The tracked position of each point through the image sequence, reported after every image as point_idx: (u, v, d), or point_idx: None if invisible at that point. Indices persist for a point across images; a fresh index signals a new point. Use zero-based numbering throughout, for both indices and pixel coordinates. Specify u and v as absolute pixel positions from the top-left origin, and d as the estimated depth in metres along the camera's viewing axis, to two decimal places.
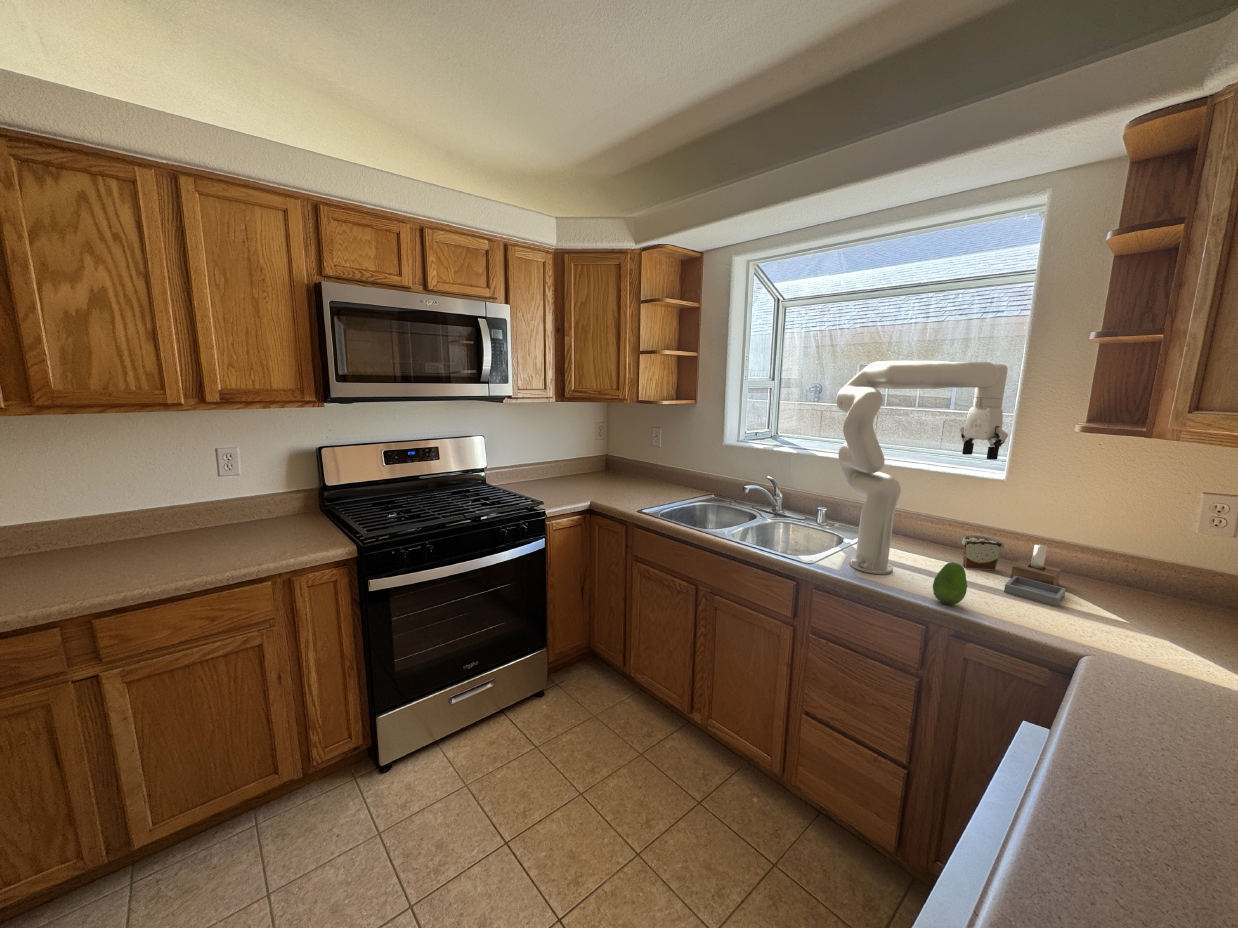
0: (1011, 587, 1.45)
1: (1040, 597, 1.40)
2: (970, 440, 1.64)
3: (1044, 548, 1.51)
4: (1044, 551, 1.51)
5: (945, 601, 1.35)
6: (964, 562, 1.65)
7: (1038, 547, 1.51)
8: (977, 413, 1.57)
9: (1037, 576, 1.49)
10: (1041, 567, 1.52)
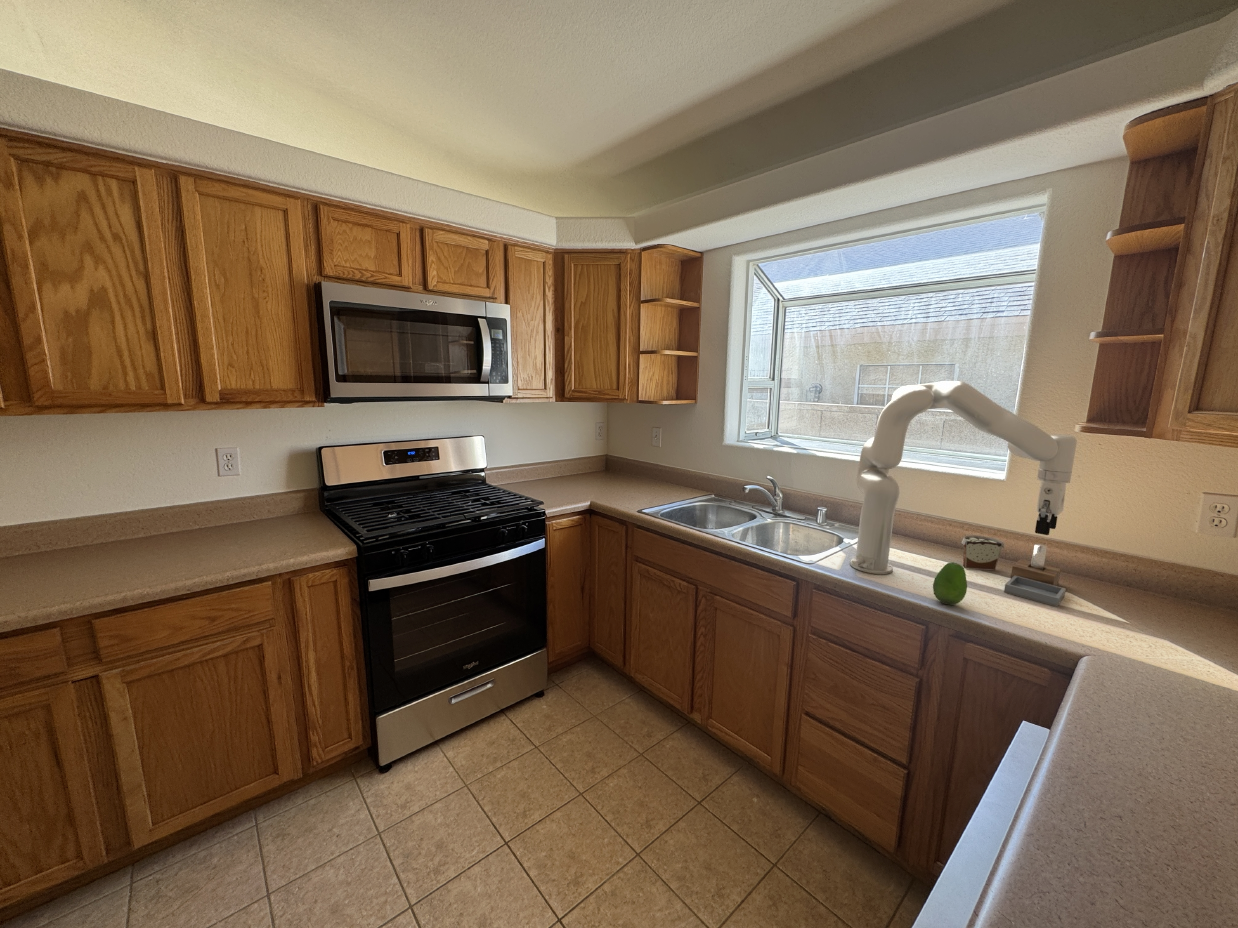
0: (1011, 587, 1.45)
1: (1040, 597, 1.40)
2: None
3: (1044, 548, 1.51)
4: (1044, 551, 1.51)
5: (945, 601, 1.35)
6: (964, 562, 1.65)
7: (1038, 547, 1.51)
8: (1064, 487, 1.47)
9: (1037, 576, 1.49)
10: (1041, 567, 1.52)
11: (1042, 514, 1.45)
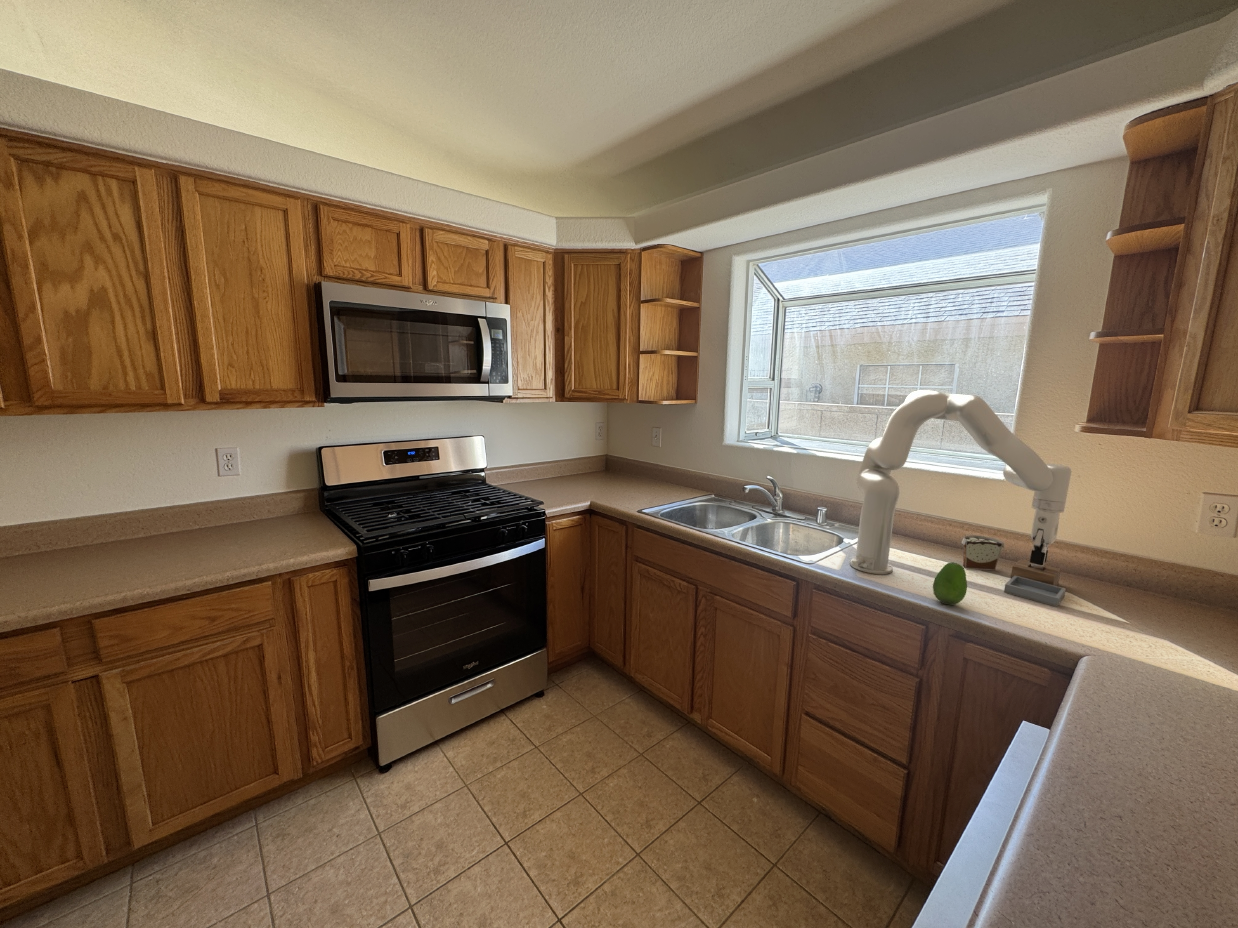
0: (1011, 587, 1.45)
1: (1040, 597, 1.40)
2: None
3: None
4: (1044, 551, 1.51)
5: (945, 601, 1.35)
6: (964, 562, 1.65)
7: None
8: (1058, 516, 1.48)
9: (1037, 576, 1.49)
10: (1041, 567, 1.52)
11: (1037, 547, 1.49)
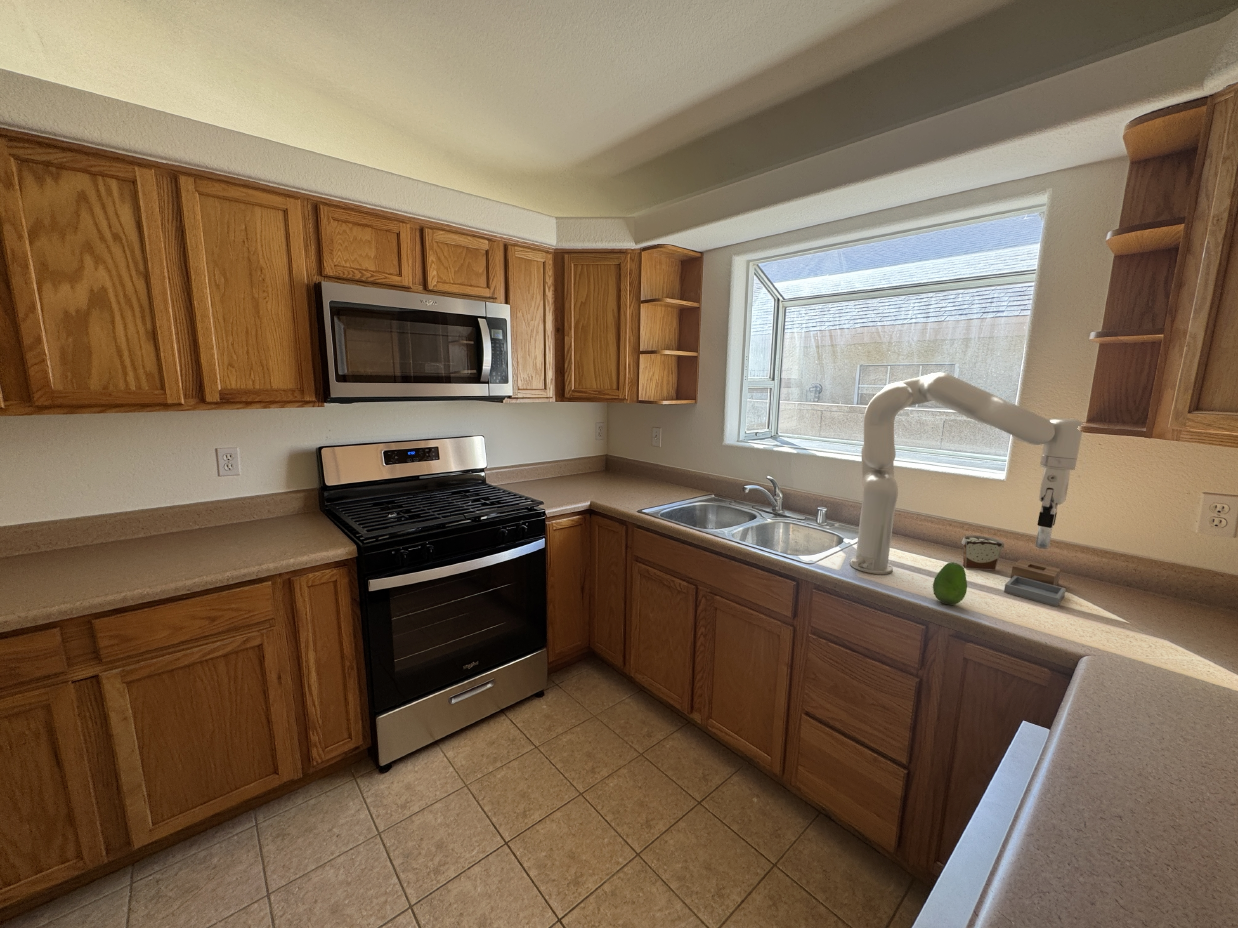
0: (1011, 587, 1.45)
1: (1040, 597, 1.40)
2: None
3: None
4: (1053, 513, 1.40)
5: (945, 601, 1.35)
6: (964, 562, 1.65)
7: None
8: (1068, 475, 1.38)
9: (1037, 576, 1.49)
10: (1050, 530, 1.41)
11: (1045, 508, 1.38)
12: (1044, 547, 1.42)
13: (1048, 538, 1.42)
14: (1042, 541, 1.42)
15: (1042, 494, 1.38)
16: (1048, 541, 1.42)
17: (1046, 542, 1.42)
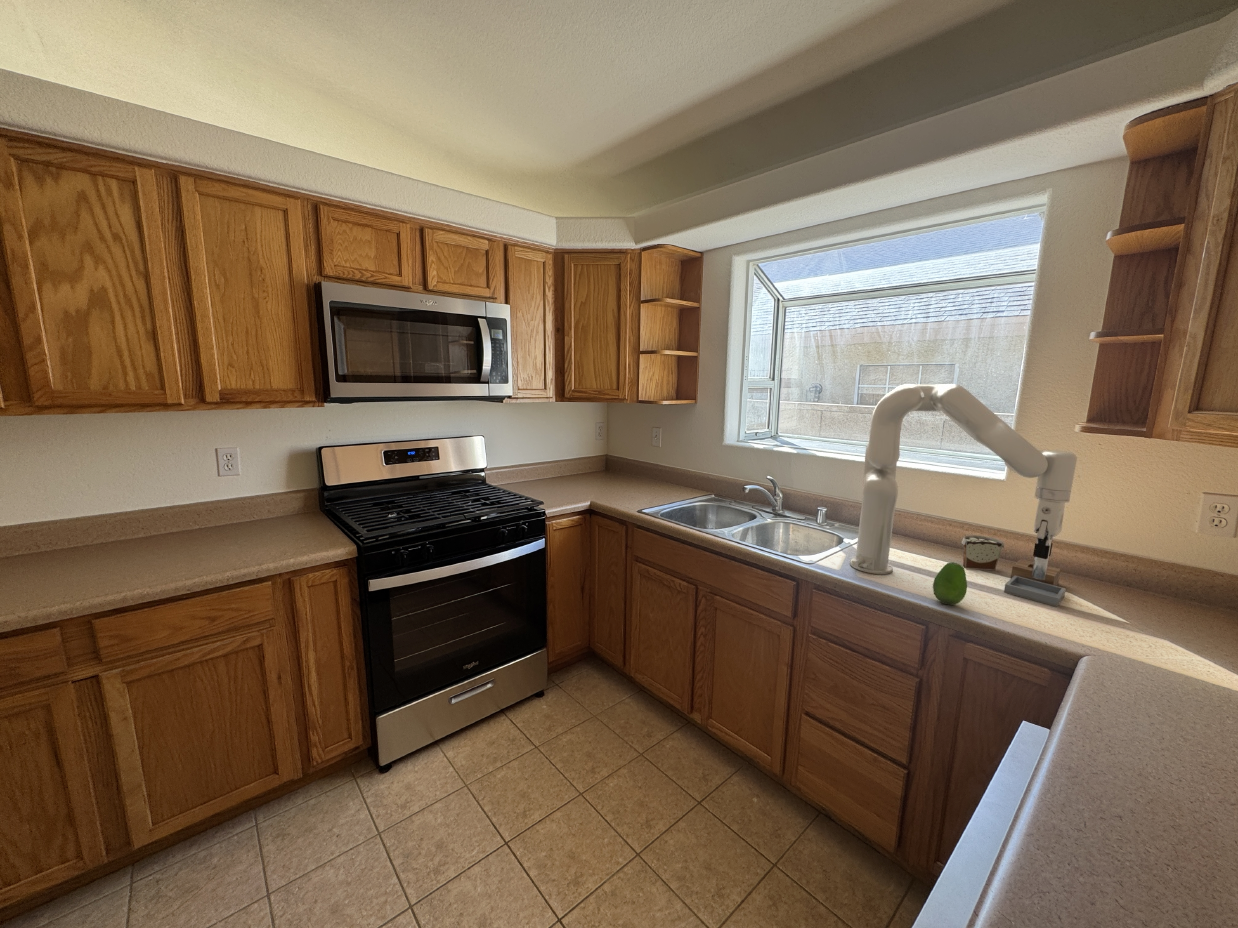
0: (1011, 587, 1.45)
1: (1040, 597, 1.40)
2: None
3: (1049, 541, 1.41)
4: (1049, 544, 1.41)
5: (945, 601, 1.35)
6: (964, 562, 1.65)
7: None
8: (1063, 507, 1.38)
9: None
10: (1045, 561, 1.42)
11: (1040, 539, 1.39)
12: (1040, 578, 1.43)
13: (1044, 569, 1.42)
14: (1039, 572, 1.43)
15: (1037, 526, 1.39)
16: (1044, 572, 1.42)
17: (1042, 572, 1.42)
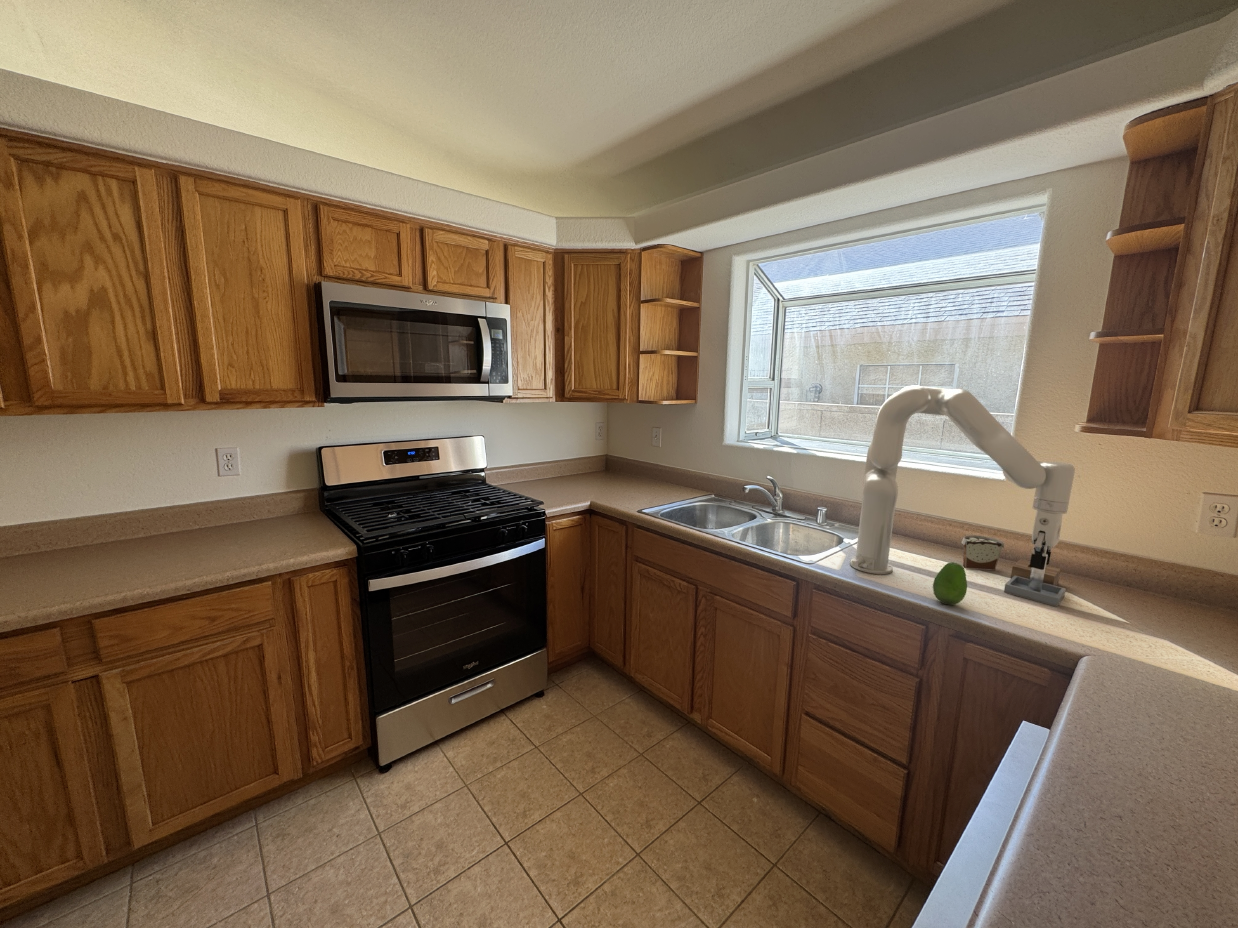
0: (1011, 587, 1.45)
1: (1040, 597, 1.40)
2: None
3: None
4: None
5: (945, 601, 1.35)
6: (964, 562, 1.65)
7: None
8: (1061, 518, 1.39)
9: None
10: (1041, 576, 1.43)
11: (1037, 549, 1.39)
12: None
13: (1040, 584, 1.43)
14: (1034, 586, 1.44)
15: (1034, 537, 1.40)
16: (1040, 587, 1.43)
17: (1038, 587, 1.43)
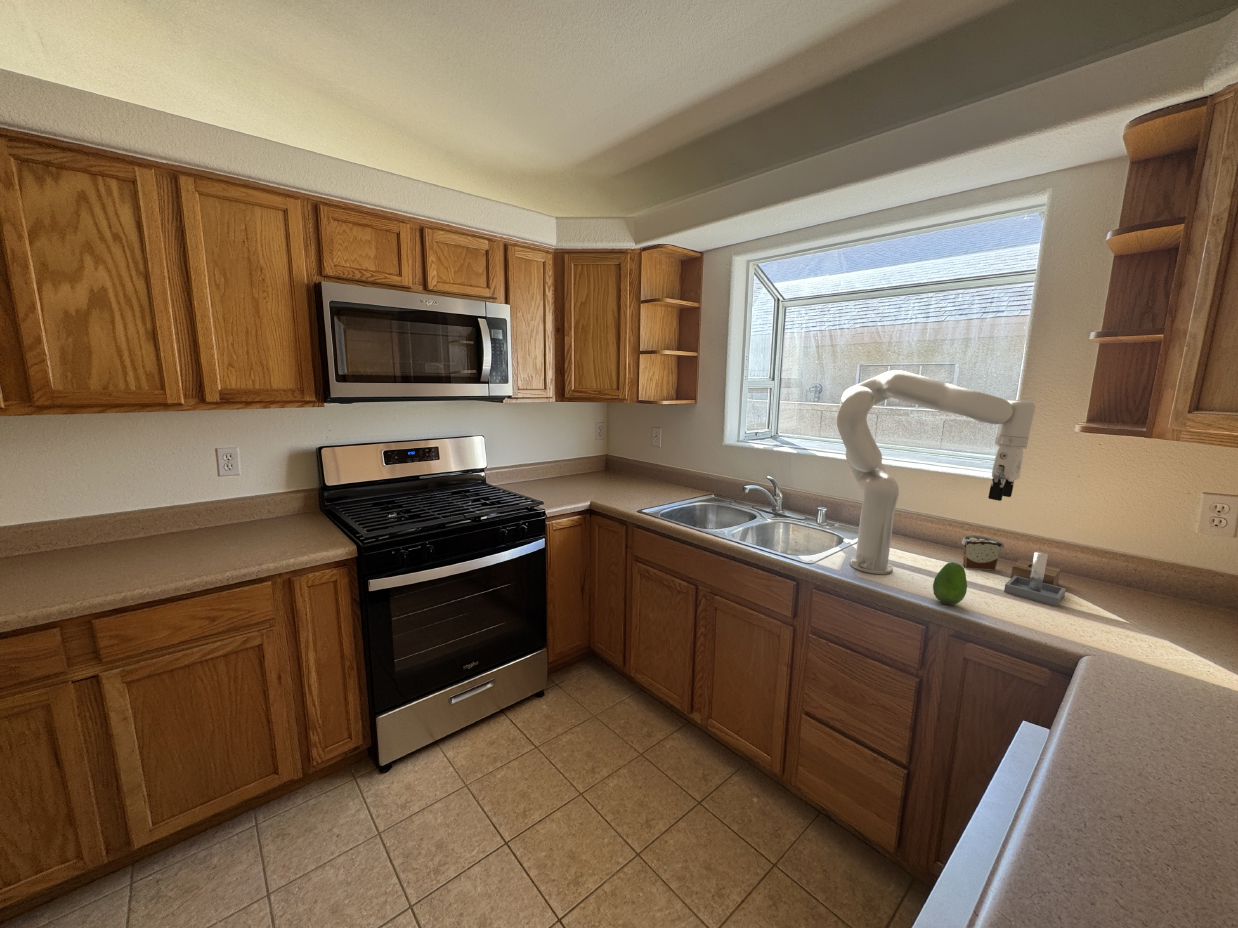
0: (1011, 587, 1.45)
1: (1040, 597, 1.40)
2: None
3: (1045, 556, 1.41)
4: (1045, 559, 1.42)
5: (945, 601, 1.35)
6: (964, 562, 1.65)
7: (1038, 555, 1.42)
8: (1020, 453, 1.45)
9: None
10: (1041, 576, 1.43)
11: (995, 479, 1.44)
12: None
13: (1040, 584, 1.43)
14: (1034, 586, 1.44)
15: (994, 471, 1.46)
16: (1040, 587, 1.43)
17: (1038, 587, 1.43)
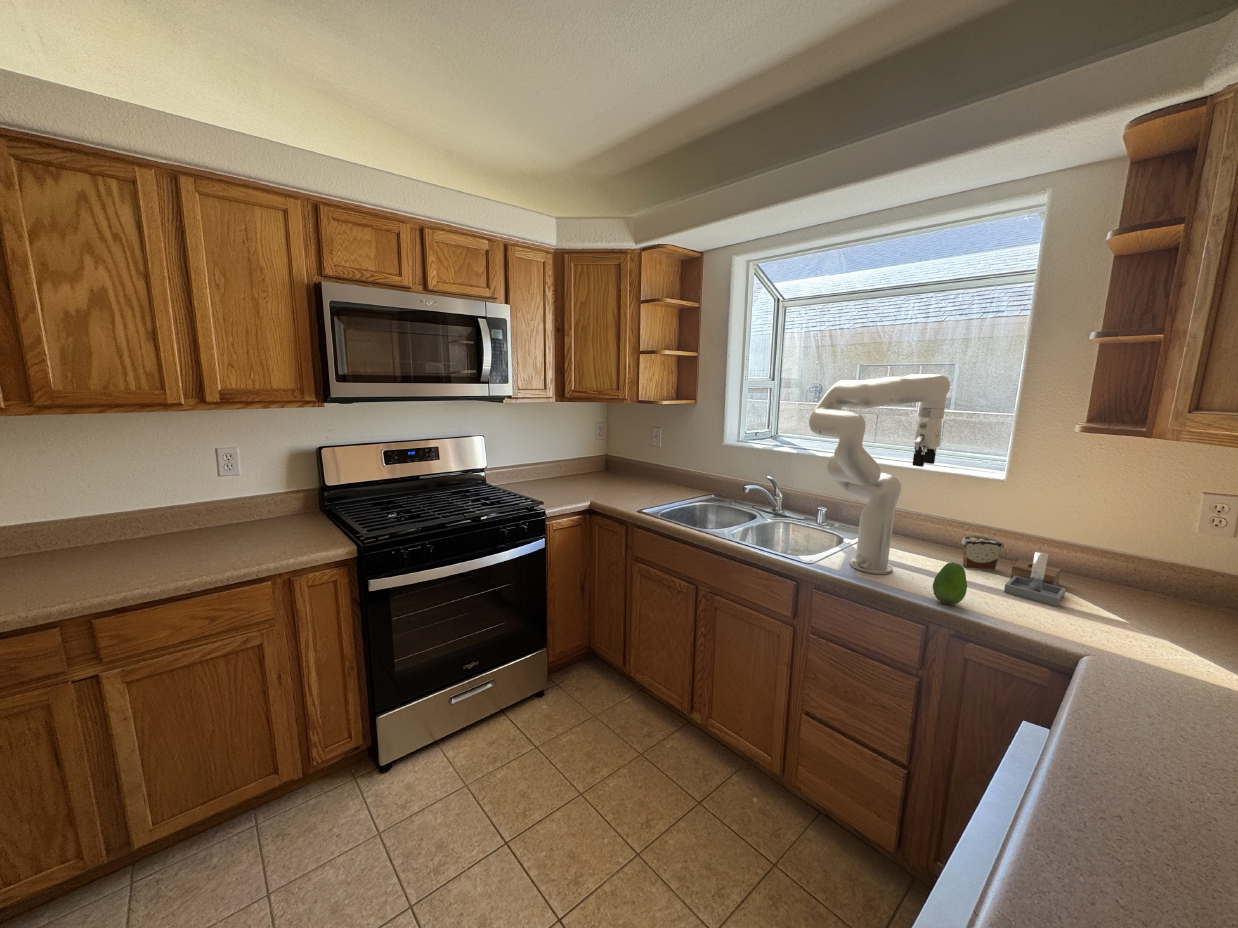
0: (1011, 587, 1.45)
1: (1040, 597, 1.40)
2: None
3: (1045, 556, 1.42)
4: (1045, 559, 1.42)
5: (945, 601, 1.35)
6: (964, 562, 1.65)
7: (1039, 555, 1.42)
8: (938, 423, 1.62)
9: None
10: (1042, 576, 1.43)
11: (916, 447, 1.60)
12: None
13: (1040, 584, 1.43)
14: (1035, 586, 1.44)
15: None
16: (1040, 587, 1.43)
17: (1038, 587, 1.43)
